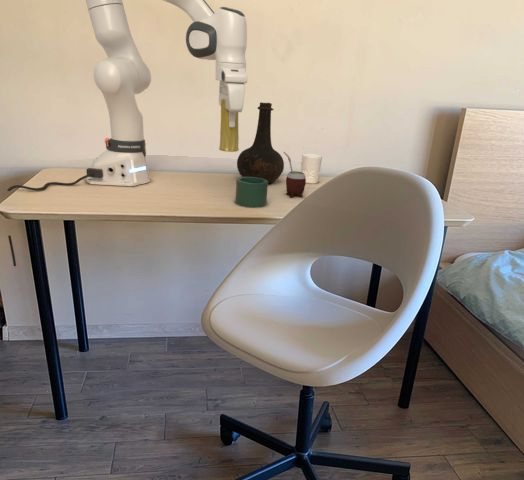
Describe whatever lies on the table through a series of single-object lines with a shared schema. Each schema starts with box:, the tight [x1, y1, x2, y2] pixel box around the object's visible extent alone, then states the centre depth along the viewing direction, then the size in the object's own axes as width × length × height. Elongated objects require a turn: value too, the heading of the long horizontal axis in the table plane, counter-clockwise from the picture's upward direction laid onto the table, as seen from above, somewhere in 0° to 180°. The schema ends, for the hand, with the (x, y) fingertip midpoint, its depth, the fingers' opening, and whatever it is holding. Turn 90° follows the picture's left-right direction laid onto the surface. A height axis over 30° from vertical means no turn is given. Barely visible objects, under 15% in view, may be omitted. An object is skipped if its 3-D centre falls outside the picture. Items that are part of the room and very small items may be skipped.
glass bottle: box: [236, 102, 285, 185], centre depth 192 cm, size 18×18×28 cm
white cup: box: [300, 153, 323, 185], centre depth 202 cm, size 8×8×10 cm
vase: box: [218, 99, 240, 153], centre depth 156 cm, size 6×6×14 cm
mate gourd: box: [283, 151, 307, 199], centre depth 178 cm, size 8×8×15 cm
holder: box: [235, 176, 269, 208], centre depth 168 cm, size 10×10×8 cm
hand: (229, 125), depth 156 cm, fingers closed on vase, 5 cm apart
